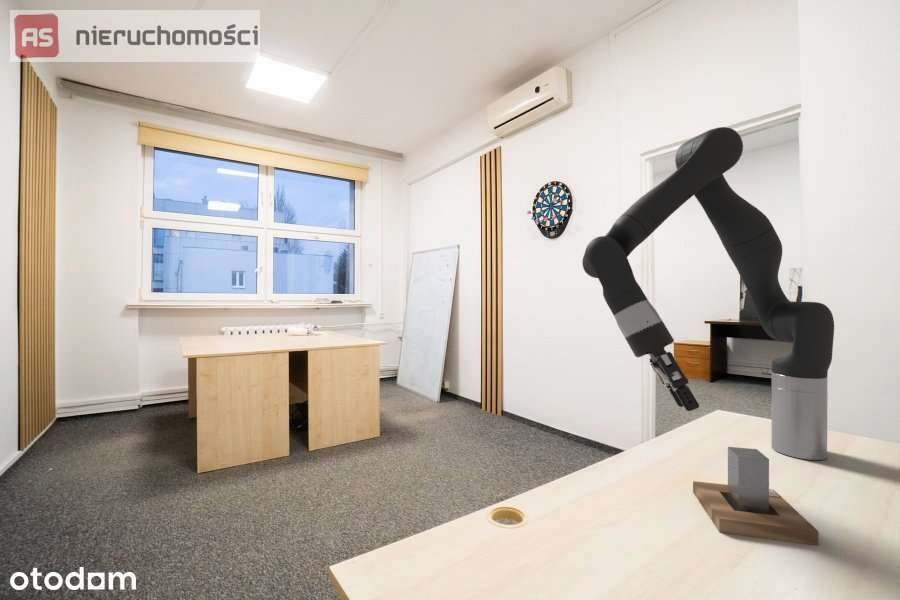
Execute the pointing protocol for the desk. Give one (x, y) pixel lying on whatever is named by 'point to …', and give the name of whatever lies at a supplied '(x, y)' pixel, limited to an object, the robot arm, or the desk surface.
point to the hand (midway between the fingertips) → (688, 407)
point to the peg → (748, 480)
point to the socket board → (755, 516)
